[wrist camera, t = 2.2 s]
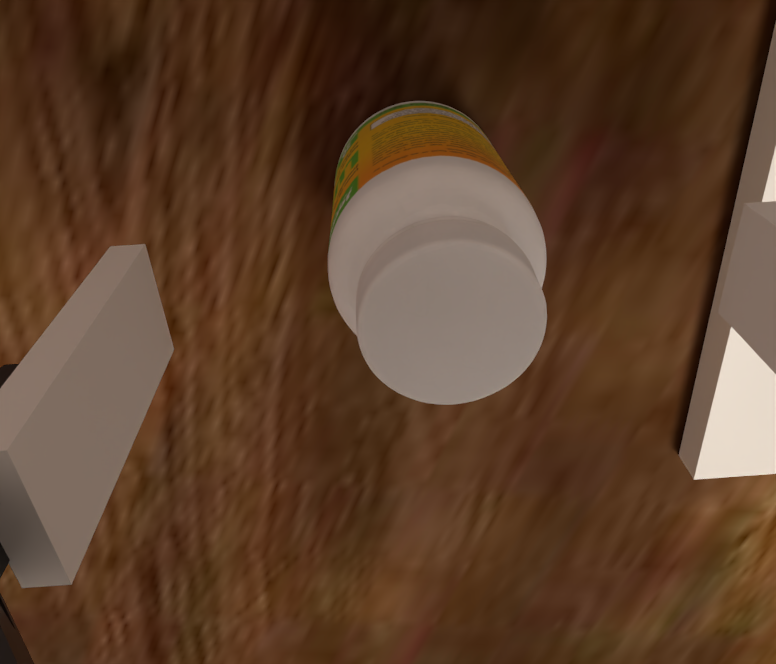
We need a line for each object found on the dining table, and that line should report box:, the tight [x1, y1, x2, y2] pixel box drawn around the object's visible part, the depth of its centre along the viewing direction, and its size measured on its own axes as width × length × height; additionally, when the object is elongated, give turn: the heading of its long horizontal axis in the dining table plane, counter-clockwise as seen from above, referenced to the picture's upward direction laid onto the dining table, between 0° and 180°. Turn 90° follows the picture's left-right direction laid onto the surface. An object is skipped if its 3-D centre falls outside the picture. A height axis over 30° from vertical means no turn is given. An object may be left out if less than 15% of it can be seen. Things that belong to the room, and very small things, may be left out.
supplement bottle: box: [328, 101, 547, 404], centre depth 18 cm, size 5×5×10 cm
